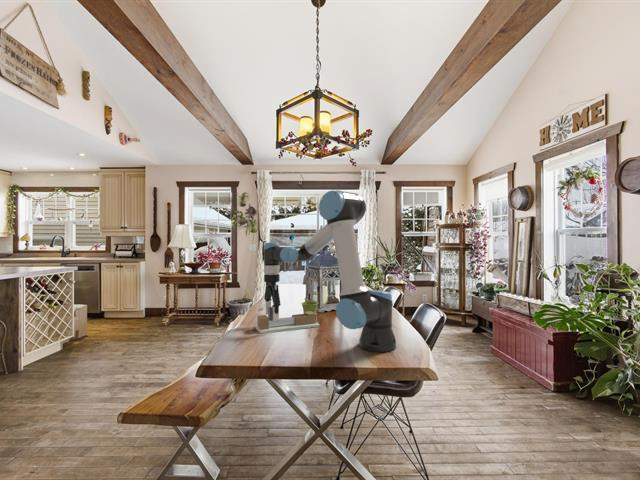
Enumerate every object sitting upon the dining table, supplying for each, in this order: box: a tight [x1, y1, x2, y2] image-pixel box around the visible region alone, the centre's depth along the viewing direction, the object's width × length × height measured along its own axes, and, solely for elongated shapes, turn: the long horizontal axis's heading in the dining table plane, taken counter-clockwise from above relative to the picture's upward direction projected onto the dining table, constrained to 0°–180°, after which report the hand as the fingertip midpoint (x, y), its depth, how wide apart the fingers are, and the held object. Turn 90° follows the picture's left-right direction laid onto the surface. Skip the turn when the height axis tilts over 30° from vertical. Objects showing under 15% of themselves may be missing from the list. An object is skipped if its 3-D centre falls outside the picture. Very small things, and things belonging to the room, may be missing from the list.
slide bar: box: [267, 306, 295, 327], centre depth 169 cm, size 3×17×9 cm, turn 114°
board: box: [254, 311, 320, 335], centre depth 170 cm, size 12×30×6 cm, turn 114°
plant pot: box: [301, 301, 319, 315], centre depth 188 cm, size 9×9×9 cm
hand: (272, 317), depth 167 cm, fingers open, 13 cm apart
